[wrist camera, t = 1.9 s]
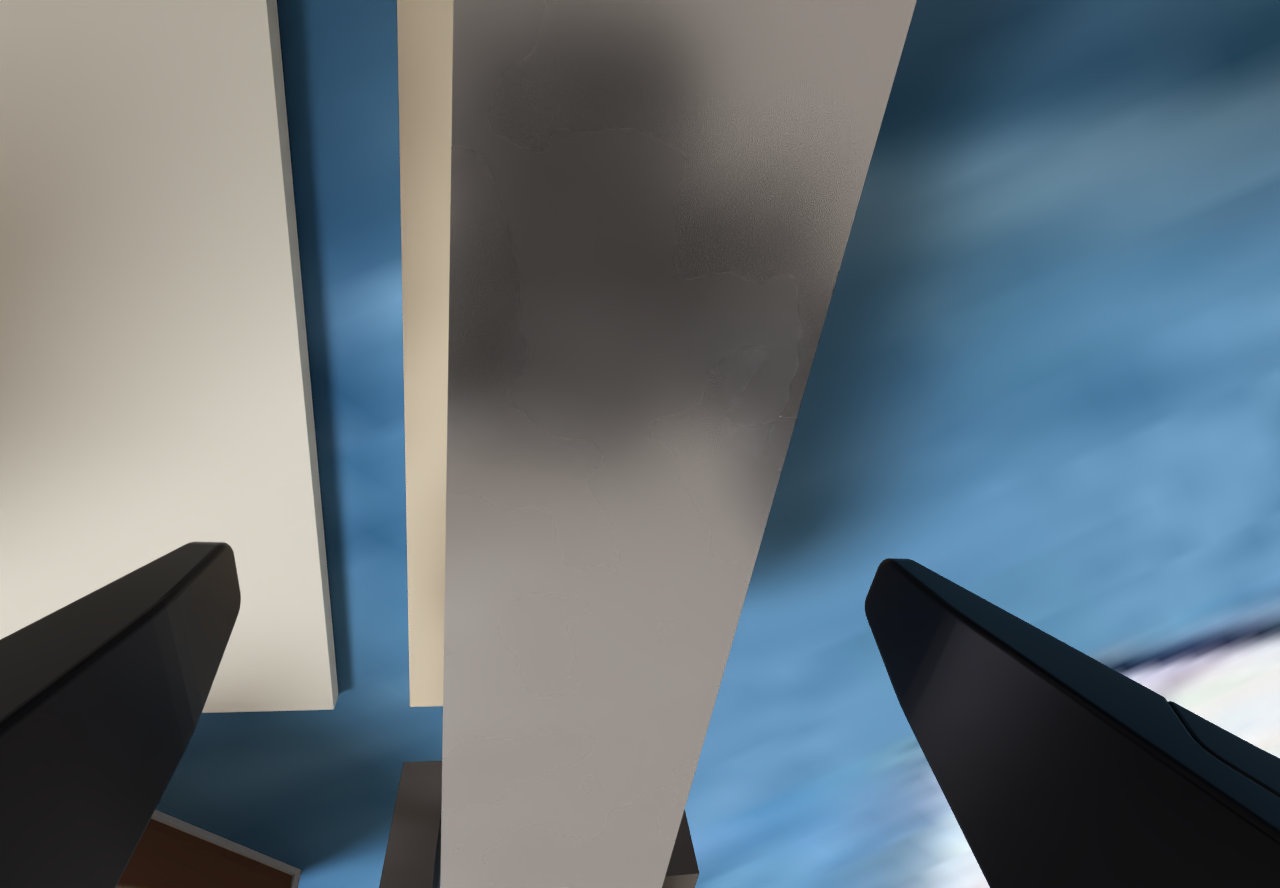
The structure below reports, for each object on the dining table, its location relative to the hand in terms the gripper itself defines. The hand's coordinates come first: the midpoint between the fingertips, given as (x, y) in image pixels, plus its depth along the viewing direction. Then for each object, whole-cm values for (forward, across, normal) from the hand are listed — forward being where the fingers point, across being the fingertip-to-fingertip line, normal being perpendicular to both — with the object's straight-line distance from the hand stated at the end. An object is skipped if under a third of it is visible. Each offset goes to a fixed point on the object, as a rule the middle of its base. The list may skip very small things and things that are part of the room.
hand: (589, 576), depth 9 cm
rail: (+4, 0, 0) cm, 4 cm away
